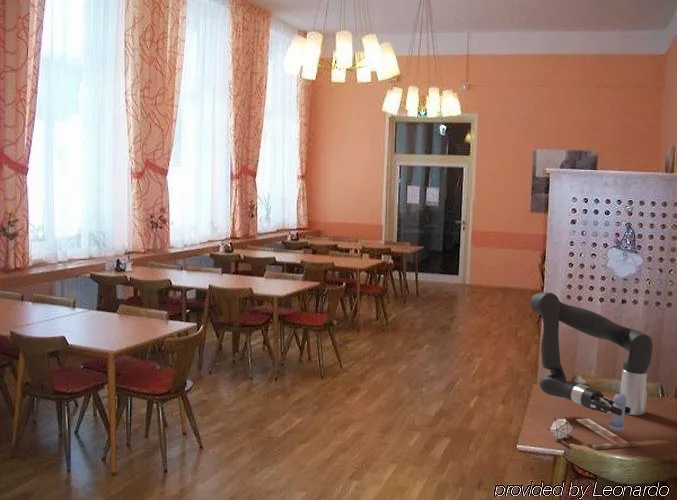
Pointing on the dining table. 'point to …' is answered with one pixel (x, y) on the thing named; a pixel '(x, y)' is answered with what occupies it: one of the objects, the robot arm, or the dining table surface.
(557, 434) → the game die
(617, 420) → the pawn
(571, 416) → the dining table surface
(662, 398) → the dining table surface
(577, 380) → the rhino figurine
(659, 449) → the dining table surface
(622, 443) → the game board
